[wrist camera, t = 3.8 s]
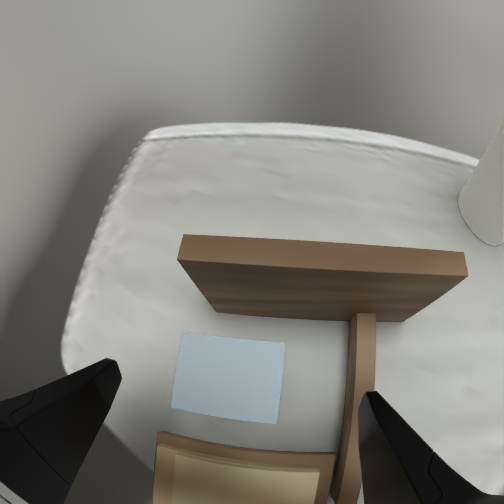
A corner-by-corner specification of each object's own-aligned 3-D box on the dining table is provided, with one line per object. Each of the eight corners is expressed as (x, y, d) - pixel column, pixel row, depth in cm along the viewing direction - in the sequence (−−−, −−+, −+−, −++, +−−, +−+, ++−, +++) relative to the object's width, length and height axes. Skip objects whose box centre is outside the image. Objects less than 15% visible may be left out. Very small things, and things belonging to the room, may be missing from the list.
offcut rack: (378, 526, 9) (423, 576, 2) (156, 510, 11) (96, 553, 4) (402, 305, 17) (463, 252, 10) (184, 291, 19) (135, 232, 12)
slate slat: (276, 403, 15) (276, 423, 7) (225, 397, 15) (170, 407, 7) (280, 365, 16) (285, 342, 8) (230, 360, 17) (182, 331, 8)
